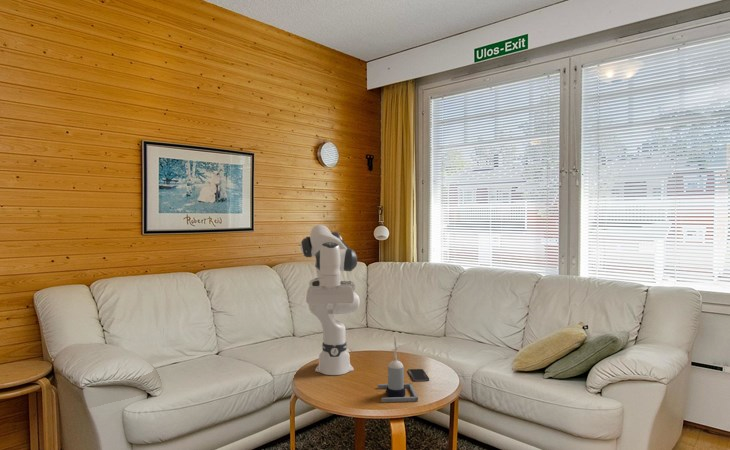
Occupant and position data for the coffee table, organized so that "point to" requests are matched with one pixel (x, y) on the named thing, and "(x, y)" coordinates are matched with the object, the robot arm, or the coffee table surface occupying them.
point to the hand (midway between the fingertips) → (330, 313)
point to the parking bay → (399, 399)
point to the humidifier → (395, 377)
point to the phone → (418, 375)
